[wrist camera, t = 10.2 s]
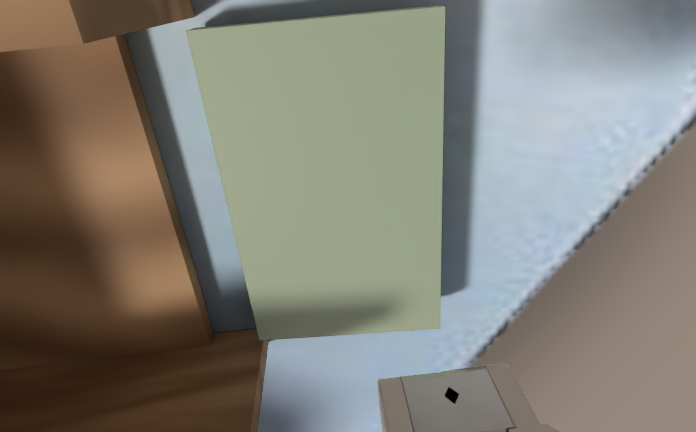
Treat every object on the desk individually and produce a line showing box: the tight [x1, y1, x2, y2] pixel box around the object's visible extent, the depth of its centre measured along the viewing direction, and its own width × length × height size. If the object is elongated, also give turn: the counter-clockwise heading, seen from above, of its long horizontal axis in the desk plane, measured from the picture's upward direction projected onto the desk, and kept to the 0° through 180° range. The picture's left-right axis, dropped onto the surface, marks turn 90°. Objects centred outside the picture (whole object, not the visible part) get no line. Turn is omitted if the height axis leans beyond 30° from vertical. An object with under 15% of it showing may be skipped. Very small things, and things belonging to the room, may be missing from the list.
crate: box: [0, 0, 268, 432], centre depth 17 cm, size 19×16×10 cm
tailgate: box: [186, 5, 445, 340], centre depth 21 cm, size 16×1×10 cm
